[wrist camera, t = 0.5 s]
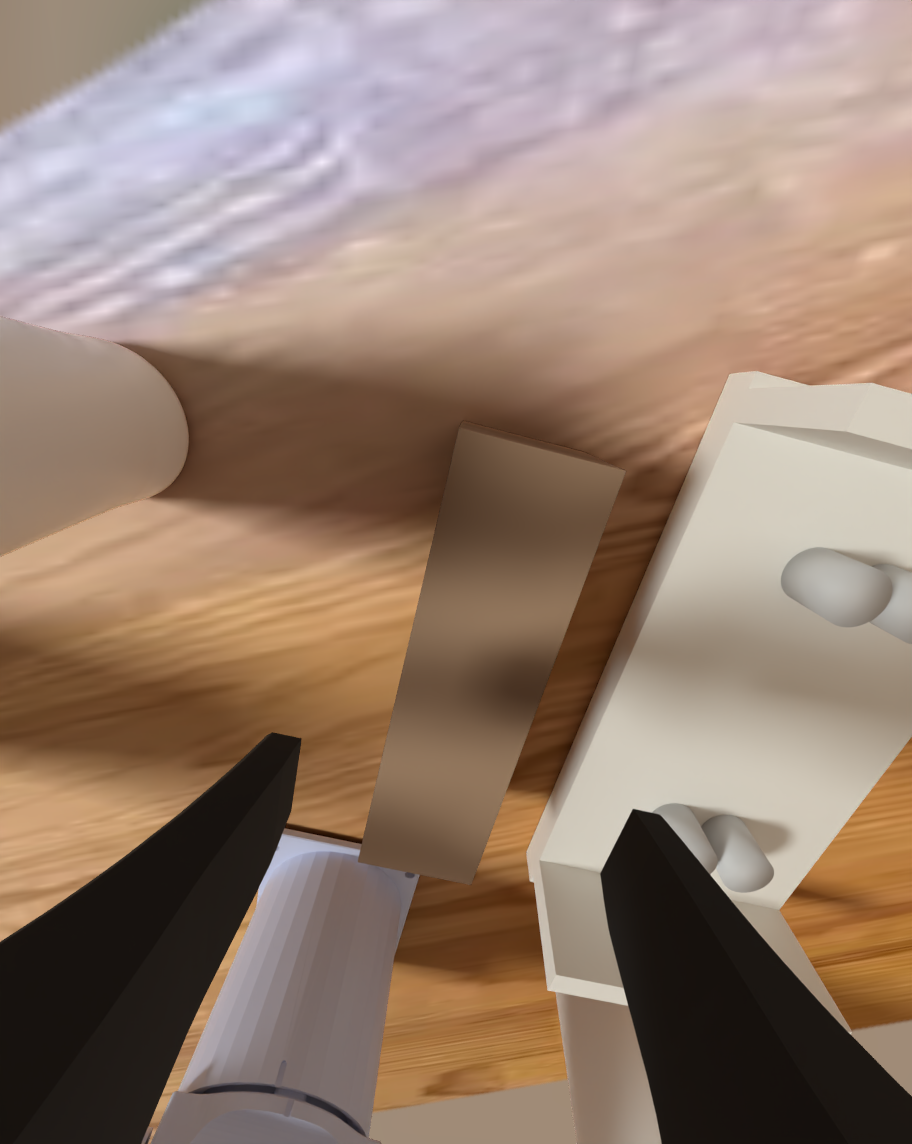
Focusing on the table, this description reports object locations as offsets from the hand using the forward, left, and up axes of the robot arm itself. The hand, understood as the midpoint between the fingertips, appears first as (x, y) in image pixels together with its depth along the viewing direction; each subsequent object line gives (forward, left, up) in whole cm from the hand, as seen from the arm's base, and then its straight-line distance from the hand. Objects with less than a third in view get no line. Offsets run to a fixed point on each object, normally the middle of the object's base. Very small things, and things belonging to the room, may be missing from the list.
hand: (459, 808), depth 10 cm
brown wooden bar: (-1, 0, -10) cm, 10 cm away
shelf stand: (-1, -12, -9) cm, 15 cm away
